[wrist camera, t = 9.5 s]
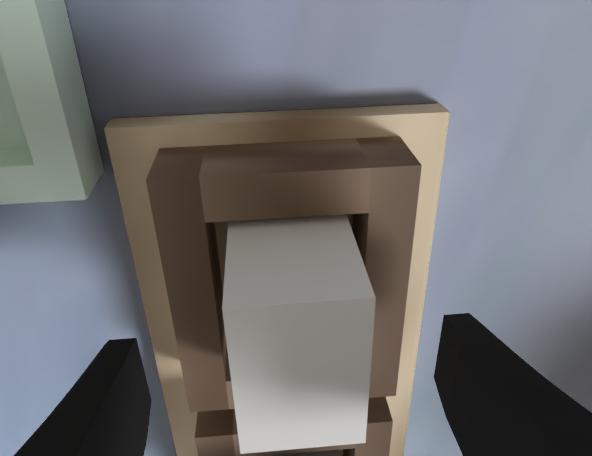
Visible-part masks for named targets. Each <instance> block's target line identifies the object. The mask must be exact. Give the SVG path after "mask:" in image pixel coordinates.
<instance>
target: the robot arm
mask: <svg viewBox="0 0 592 456" xmlns="http://www.w3.org/2000/svg"><path fill="white" fill-rule="evenodd" d="M434 379H435V382H436V386H437V389H438V392H439V396H440V399H441V402H442V405H443V409H444V412H445V415H446V418H447V420H448V422H449V425H450V427H451V429H452V431H453V434H454V436H455V438H456V441H457V443H458V445H459V447H460V450H461V452H462V454H463V456H592V413H591V412H590V411H588V410H587V409H585V408H584V407H583V406H581V405H580V404H579V403H577V402H576V401H575V400H573V399H572V398H571V397H569V396H568V395H567V394H565V393H564V392H563V391H561V390H560V389H559V388H557V387H556V386H555V385H553V384H552V383H551V382H550V381H548V380H547V379H546V378H545V377H543V376H542V375H541V374H540V373H538V372H537V371H536V370H535V369H534V368H532V367H531V366H530V365H529V364H527V363H526V362H525V361H524V360H523V359H522V358H520V357H519V356H518V355H517V354H516V353H514V352H513V351H512V350H511V349H510V348H509V347H507V346H506V345H505V344H504V343H503V342H502V341H501V340H499V339H498V338H497V337H496V336H495V335H494V334H493V333H491V332H490V331H489V330H488V329H487V328H486V327H485V326H483V325H482V324H481V323H480V322H479V321H478V320H477V319H475V318H474V317H473V316H472V315H471V314H469V313H465V314H452V315H444V318H443V324H442V330H441V337H440V343H439V349H438V355H437V361H436V367H435V374H434ZM150 407H151V397H150V393H149V389H148V385H147V381H146V376H145V372H144V368H143V364H142V360H141V356H140V352H139V348H138V343H137V339H136V338H131V339H117V340H109V341H108V342H107V343H106V344H105V345H104V346H103V348H102V349H101V350H100V352H99V353H98V354H97V356H96V357H95V358H94V360H93V361H92V362H91V364H90V365H89V366H88V368H87V369H86V370H85V371H84V373H83V374H82V375H81V377H80V378H79V379H78V381H77V382H76V383H75V384H74V386H73V387H72V388H71V389H70V391H69V392H68V393H67V394H66V396H65V397H64V398H63V399H62V401H61V402H60V403H59V404H58V405H57V407H56V408H55V409H54V410H53V412H52V413H51V414H50V415H49V416H48V418H47V419H46V420H45V421H44V422H43V424H42V425H41V426H40V427H39V428H38V429H37V430H36V431H35V432H34V434H33V435H32V436H31V437H30V438H29V439H28V440H27V441H26V443H25V444H24V445H23V446H22V447H21V448H20V449H19V450H18V452H17V453H16V454H15V455H14V456H143V455H144V450H145V446H146V440H147V433H148V425H149V416H150Z"/></svg>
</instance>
